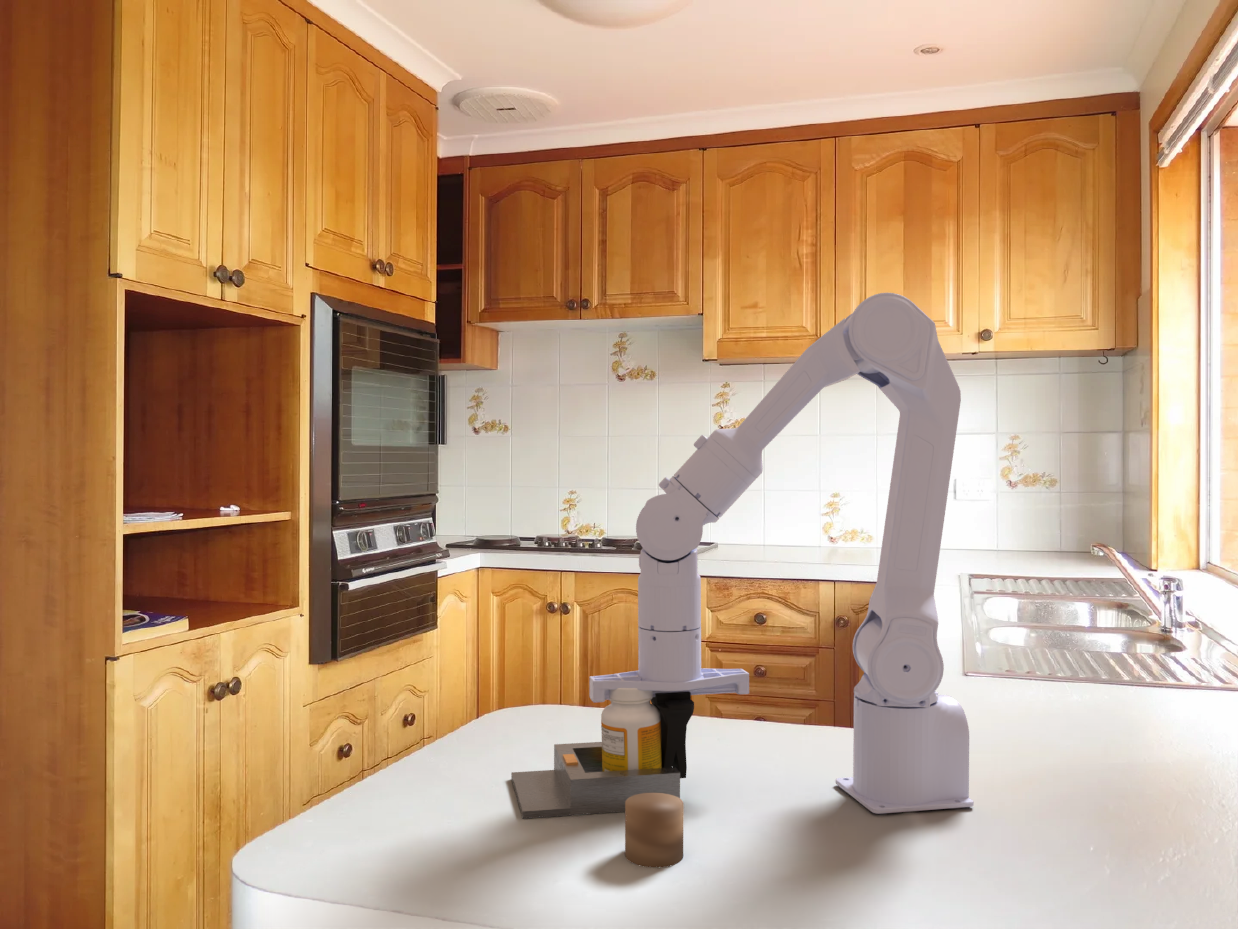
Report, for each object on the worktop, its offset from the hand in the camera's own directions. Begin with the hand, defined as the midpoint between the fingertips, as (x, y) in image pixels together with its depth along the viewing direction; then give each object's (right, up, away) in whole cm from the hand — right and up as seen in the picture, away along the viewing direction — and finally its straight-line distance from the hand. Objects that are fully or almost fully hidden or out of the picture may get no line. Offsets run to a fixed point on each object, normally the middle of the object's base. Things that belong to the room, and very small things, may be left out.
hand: (670, 775), depth 87 cm
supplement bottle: (-3, -1, -1) cm, 4 cm away
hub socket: (-7, -1, -1) cm, 7 cm away
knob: (-2, -1, -15) cm, 15 cm away
